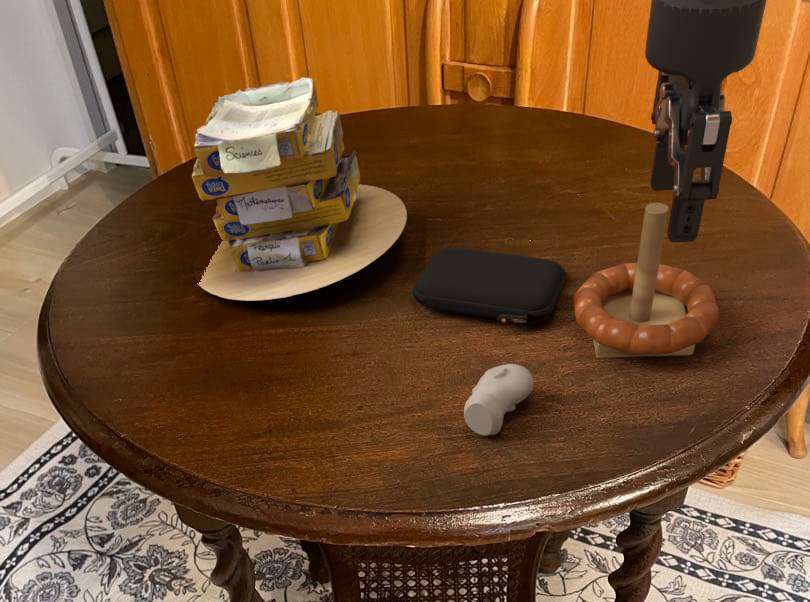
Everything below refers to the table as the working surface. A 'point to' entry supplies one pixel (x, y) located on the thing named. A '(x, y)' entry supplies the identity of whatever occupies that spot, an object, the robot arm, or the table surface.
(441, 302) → the carrying case
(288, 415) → the table surface
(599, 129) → the table surface
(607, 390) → the table surface
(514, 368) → the smooth white sculpture
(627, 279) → the ring
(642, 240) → the post
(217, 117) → the stack of yellow boxes
